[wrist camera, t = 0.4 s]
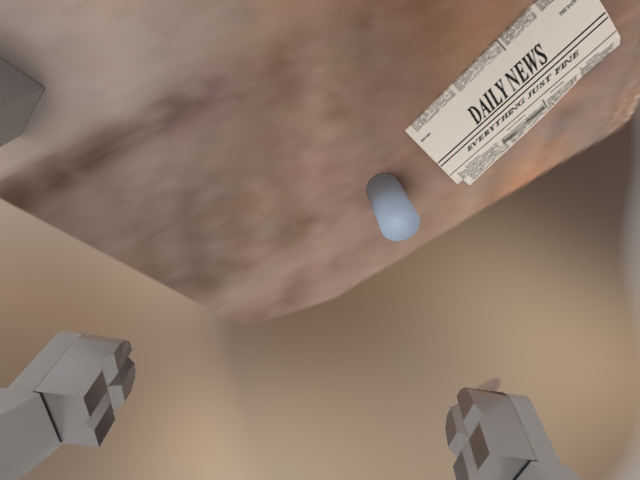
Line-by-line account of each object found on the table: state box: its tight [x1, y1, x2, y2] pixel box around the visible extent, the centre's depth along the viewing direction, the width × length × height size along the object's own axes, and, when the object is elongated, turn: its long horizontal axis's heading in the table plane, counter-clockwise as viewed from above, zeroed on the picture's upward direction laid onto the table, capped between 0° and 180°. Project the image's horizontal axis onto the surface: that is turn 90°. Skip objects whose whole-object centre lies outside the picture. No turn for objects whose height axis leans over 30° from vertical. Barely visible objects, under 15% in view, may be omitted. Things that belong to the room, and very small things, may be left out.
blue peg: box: [366, 173, 420, 241], centre depth 46 cm, size 4×4×9 cm
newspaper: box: [405, 0, 620, 185], centre depth 43 cm, size 23×12×2 cm, turn 138°
